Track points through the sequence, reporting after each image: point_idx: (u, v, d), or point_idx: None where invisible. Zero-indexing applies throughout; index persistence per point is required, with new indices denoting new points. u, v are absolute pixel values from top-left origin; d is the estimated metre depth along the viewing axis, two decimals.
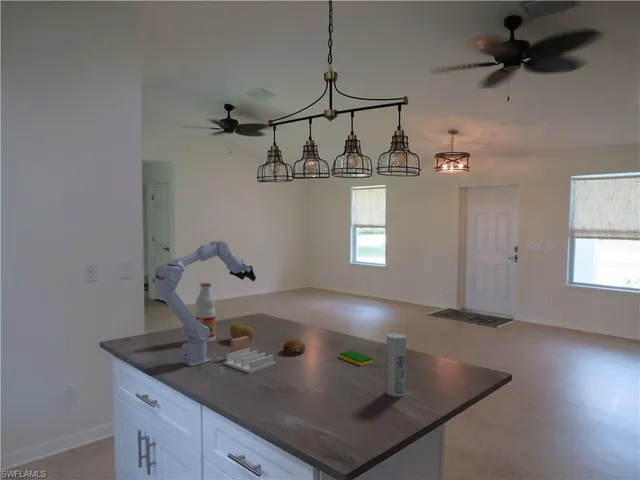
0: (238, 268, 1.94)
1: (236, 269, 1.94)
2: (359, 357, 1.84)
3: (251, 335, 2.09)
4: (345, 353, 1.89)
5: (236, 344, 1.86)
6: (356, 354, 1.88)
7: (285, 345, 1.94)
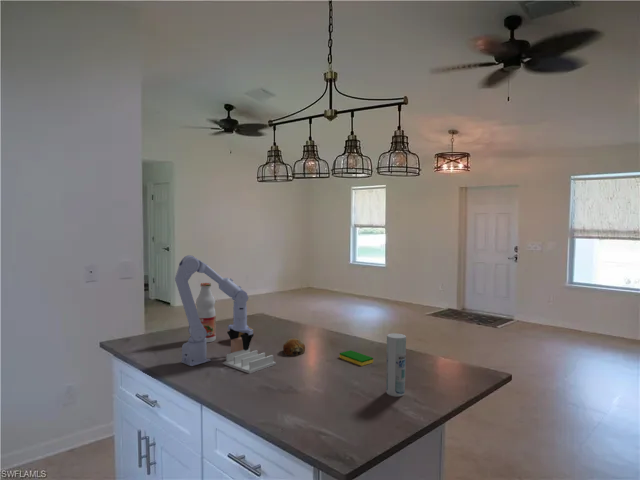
0: (241, 327, 1.86)
1: (239, 326, 1.86)
2: (359, 357, 1.84)
3: None
4: (345, 353, 1.89)
5: (236, 344, 1.86)
6: (356, 354, 1.88)
7: (285, 345, 1.94)
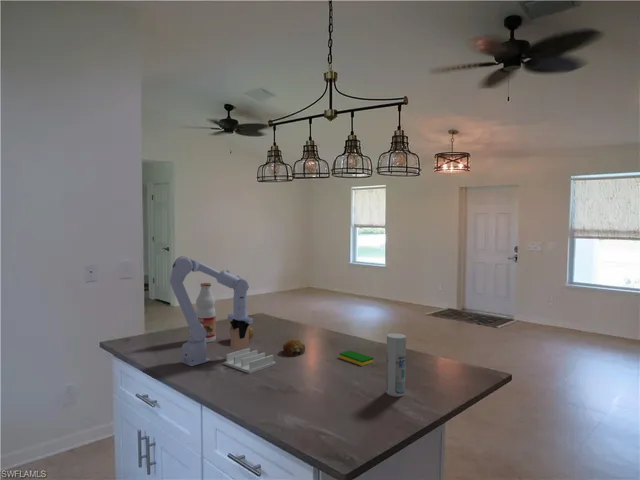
0: (241, 316, 1.86)
1: (239, 315, 1.86)
2: (359, 357, 1.84)
3: (251, 335, 2.09)
4: (345, 353, 1.89)
5: (236, 334, 1.86)
6: (356, 354, 1.88)
7: (285, 345, 1.94)
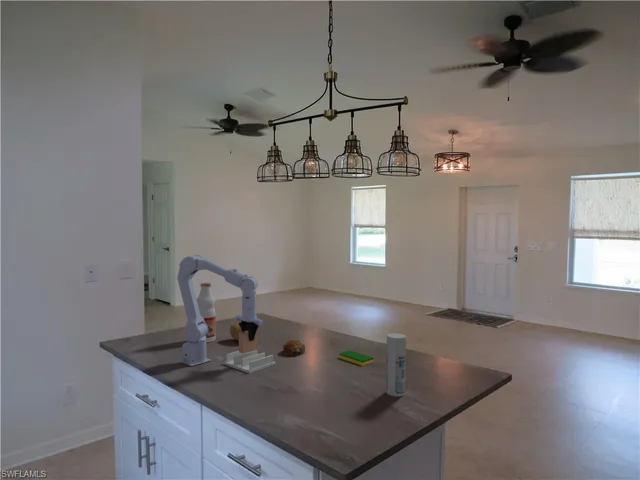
0: (250, 317, 1.77)
1: (248, 317, 1.76)
2: (360, 357, 1.84)
3: None
4: (345, 353, 1.89)
5: (244, 337, 1.76)
6: (356, 354, 1.88)
7: (285, 345, 1.94)
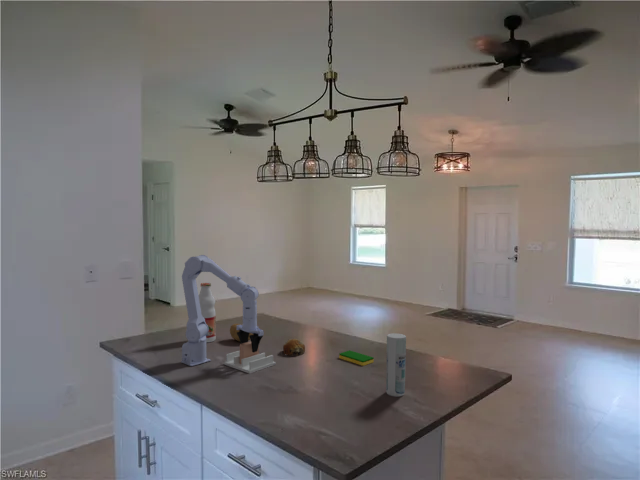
0: (251, 327, 1.76)
1: (249, 327, 1.76)
2: (360, 357, 1.84)
3: None
4: (345, 353, 1.88)
5: (245, 349, 1.76)
6: (356, 354, 1.88)
7: (285, 345, 1.93)
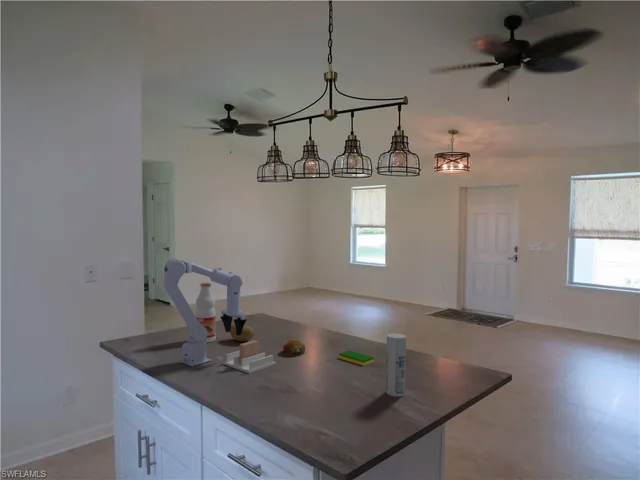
0: (234, 312, 1.87)
1: (232, 311, 1.86)
2: (360, 357, 1.84)
3: (251, 335, 2.09)
4: (344, 353, 1.88)
5: (245, 349, 1.76)
6: (356, 354, 1.88)
7: (285, 346, 1.93)
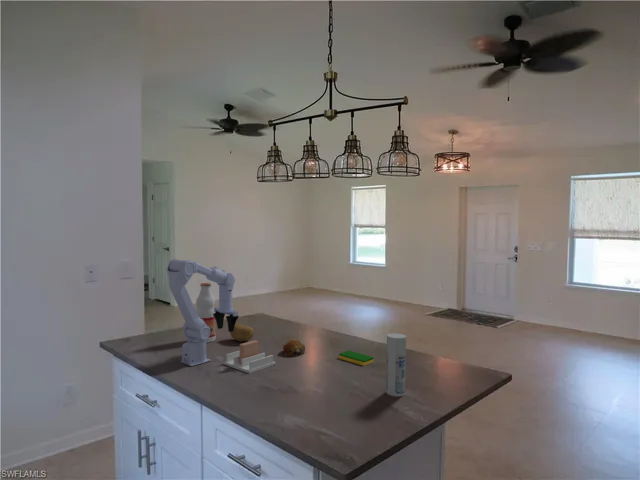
0: (226, 309, 1.92)
1: (224, 308, 1.92)
2: (360, 357, 1.84)
3: (251, 335, 2.09)
4: (344, 353, 1.88)
5: (245, 349, 1.76)
6: (356, 354, 1.88)
7: (285, 346, 1.93)
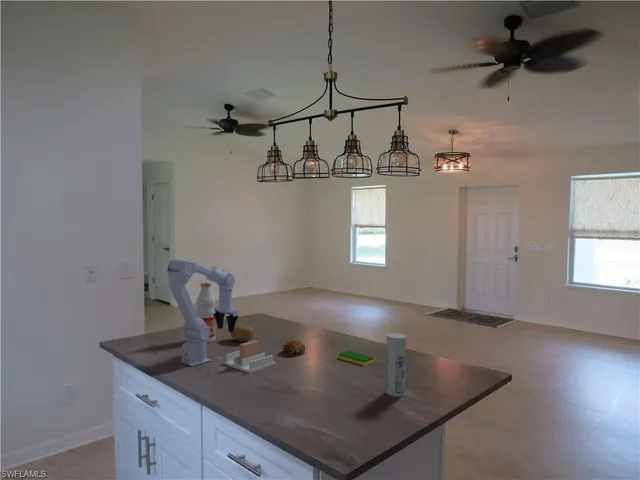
0: (226, 309, 1.92)
1: (224, 308, 1.92)
2: (360, 357, 1.84)
3: (251, 335, 2.09)
4: (344, 354, 1.88)
5: (245, 349, 1.76)
6: (356, 354, 1.88)
7: (285, 346, 1.93)
